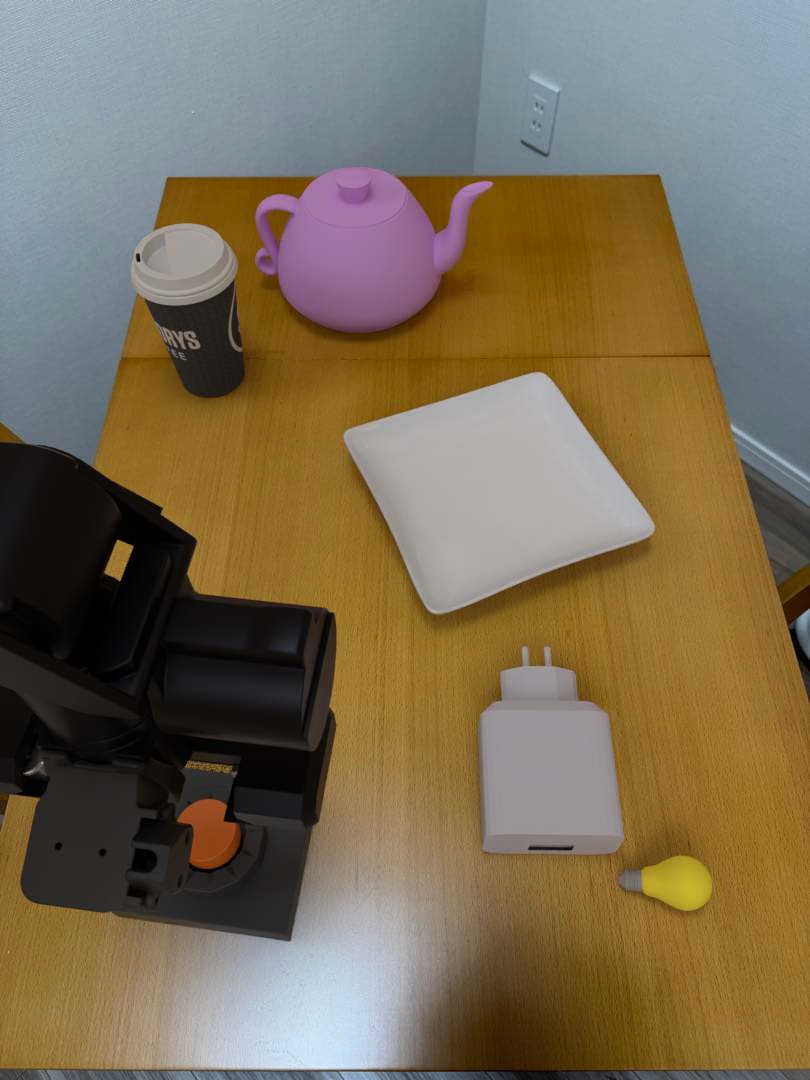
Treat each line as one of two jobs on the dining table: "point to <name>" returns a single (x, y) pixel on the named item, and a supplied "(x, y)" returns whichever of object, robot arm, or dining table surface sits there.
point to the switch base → (236, 876)
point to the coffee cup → (193, 304)
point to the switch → (211, 833)
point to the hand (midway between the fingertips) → (183, 796)
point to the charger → (547, 767)
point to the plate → (494, 490)
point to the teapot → (360, 249)
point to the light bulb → (672, 882)
